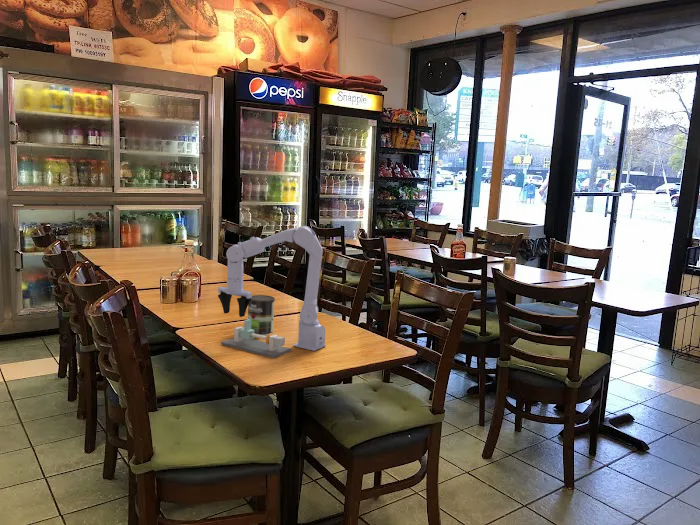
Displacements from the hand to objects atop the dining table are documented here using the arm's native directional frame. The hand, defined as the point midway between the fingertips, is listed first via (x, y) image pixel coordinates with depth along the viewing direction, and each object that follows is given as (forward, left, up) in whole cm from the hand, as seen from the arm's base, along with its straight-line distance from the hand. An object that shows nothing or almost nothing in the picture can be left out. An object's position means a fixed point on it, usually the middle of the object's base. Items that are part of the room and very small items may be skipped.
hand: (234, 314), depth 204 cm
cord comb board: (-11, 0, -10) cm, 15 cm away
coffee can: (0, -16, -11) cm, 19 cm away
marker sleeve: (-6, 0, -7) cm, 10 cm away
